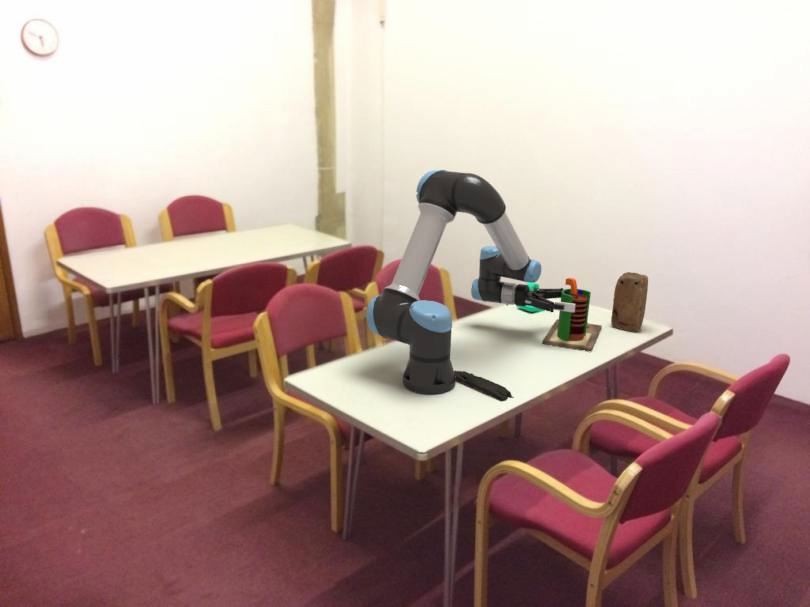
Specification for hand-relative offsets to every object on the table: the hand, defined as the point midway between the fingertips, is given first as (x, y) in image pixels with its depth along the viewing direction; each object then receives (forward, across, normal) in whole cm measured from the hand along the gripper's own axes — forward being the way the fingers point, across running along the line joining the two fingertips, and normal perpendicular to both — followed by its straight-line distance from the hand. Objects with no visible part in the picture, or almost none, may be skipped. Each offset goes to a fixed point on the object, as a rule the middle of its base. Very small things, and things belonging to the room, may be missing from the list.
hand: (578, 302), depth 224 cm
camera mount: (-21, -30, -14) cm, 39 cm away
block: (+14, -22, -14) cm, 30 cm away
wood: (-18, +48, -14) cm, 54 cm away
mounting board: (-2, -5, -14) cm, 15 cm away
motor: (-2, 0, -13) cm, 13 cm away
